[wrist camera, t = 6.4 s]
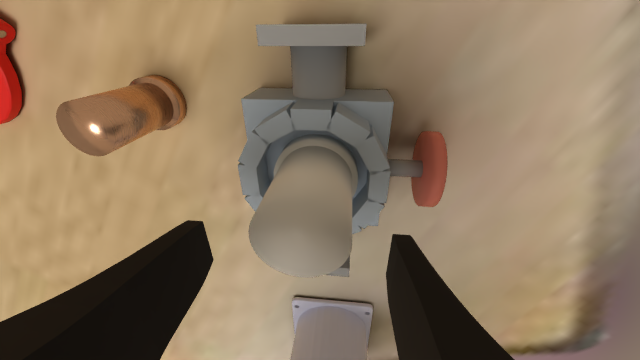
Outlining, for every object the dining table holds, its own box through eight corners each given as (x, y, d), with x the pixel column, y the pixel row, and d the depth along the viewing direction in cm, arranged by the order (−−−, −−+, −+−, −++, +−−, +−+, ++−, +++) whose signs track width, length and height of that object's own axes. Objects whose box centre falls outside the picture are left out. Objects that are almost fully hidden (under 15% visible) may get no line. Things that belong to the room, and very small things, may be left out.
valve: (406, 236, 21) (419, 287, 17) (275, 227, 23) (257, 273, 18) (448, 24, 14) (490, 22, 10) (252, 26, 15) (212, 24, 11)
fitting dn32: (191, 126, 19) (130, 162, 14) (147, 124, 19) (70, 160, 14) (178, 75, 17) (103, 94, 12) (130, 74, 17) (36, 93, 12)
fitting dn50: (348, 211, 17) (346, 290, 12) (275, 197, 17) (241, 270, 12) (366, 142, 15) (373, 204, 9) (280, 126, 15) (241, 179, 9)
